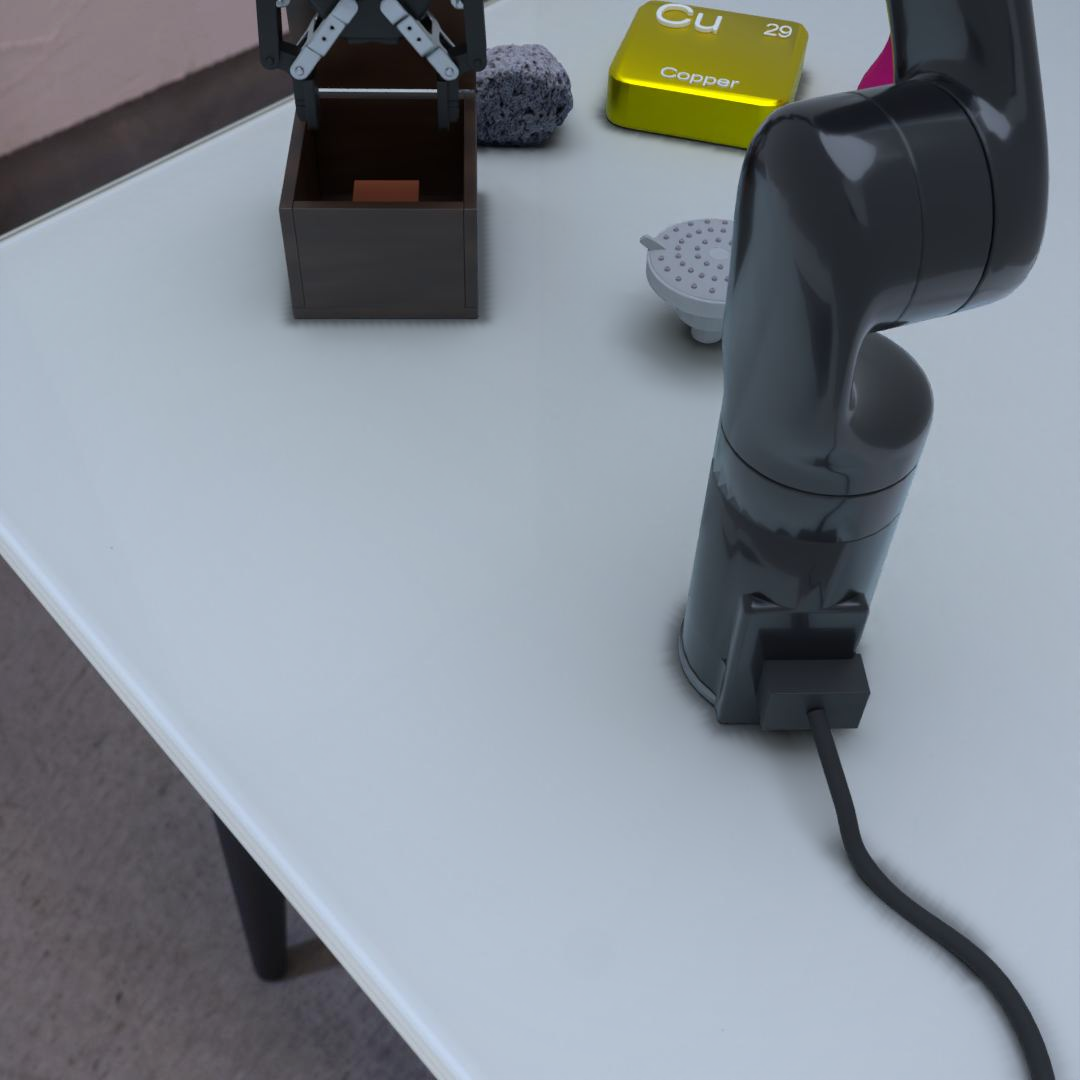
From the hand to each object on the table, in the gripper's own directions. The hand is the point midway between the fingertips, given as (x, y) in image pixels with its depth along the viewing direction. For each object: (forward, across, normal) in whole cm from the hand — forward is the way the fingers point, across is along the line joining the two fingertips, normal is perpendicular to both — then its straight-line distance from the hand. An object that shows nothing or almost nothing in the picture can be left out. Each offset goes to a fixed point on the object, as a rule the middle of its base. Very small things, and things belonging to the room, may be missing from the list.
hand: (379, 124), depth 87 cm
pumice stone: (+11, +10, +19) cm, 24 cm away
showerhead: (+12, +22, -8) cm, 26 cm away
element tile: (+11, +26, +24) cm, 37 cm away
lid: (-6, 0, +7) cm, 9 cm away
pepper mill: (+11, +40, +15) cm, 44 cm away
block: (+10, 0, 0) cm, 10 cm away
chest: (+11, 0, +1) cm, 11 cm away
